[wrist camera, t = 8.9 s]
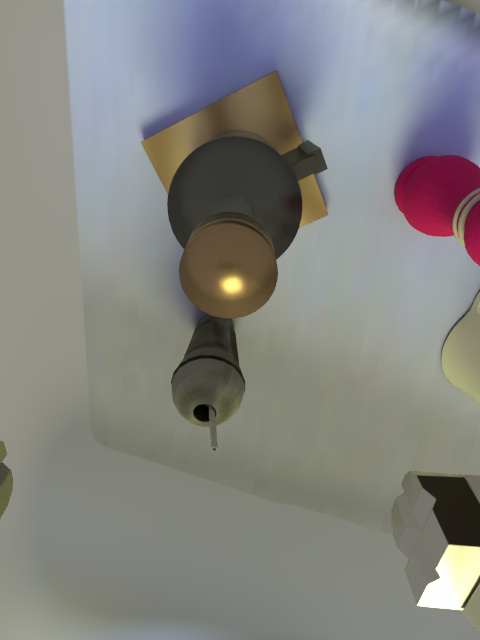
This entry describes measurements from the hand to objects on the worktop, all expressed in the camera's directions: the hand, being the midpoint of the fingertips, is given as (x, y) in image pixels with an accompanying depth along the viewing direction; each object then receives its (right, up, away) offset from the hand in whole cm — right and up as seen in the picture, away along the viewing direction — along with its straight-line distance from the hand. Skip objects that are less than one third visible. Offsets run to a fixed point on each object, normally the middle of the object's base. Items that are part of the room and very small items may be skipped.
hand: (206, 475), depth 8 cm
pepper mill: (+20, +17, +34) cm, 43 cm away
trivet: (0, +18, +34) cm, 38 cm away
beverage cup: (-2, +2, +42) cm, 42 cm away
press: (+2, +18, +32) cm, 37 cm away
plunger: (0, +11, +21) cm, 23 cm away
